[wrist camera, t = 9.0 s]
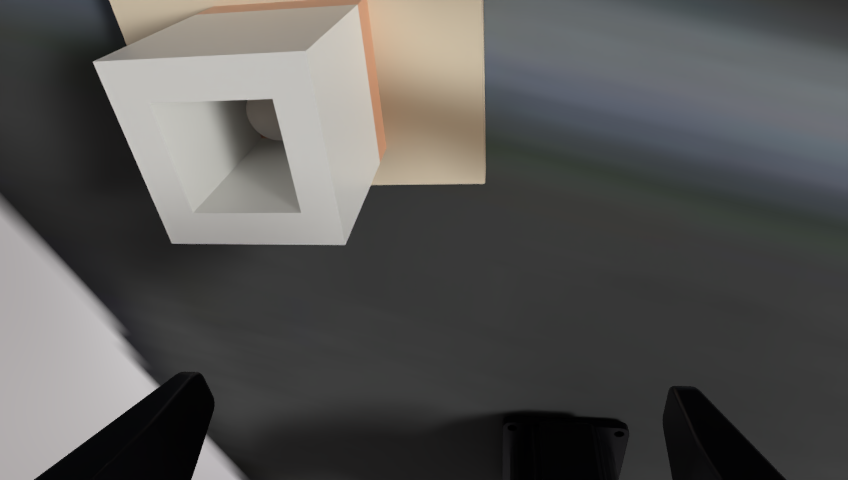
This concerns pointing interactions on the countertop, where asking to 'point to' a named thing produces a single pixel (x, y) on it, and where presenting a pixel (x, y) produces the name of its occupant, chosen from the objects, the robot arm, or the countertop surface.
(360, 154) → the banded sleeve
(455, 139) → the pin board
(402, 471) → the countertop surface
